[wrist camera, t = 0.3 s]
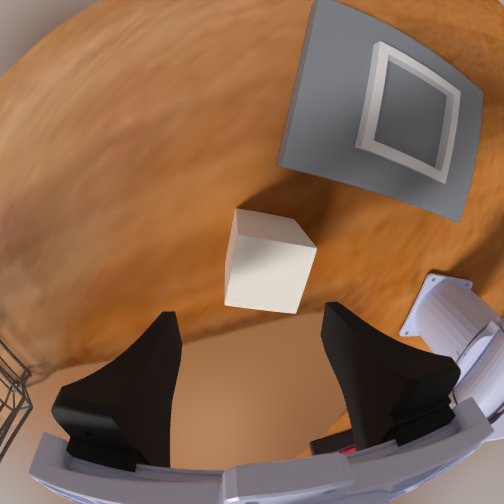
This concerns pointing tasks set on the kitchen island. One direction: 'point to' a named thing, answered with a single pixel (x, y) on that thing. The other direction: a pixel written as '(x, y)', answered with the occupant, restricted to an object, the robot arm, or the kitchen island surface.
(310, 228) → the kitchen island surface
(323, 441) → the dark product box
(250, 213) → the cream block
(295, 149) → the display plinth
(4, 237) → the kitchen island surface
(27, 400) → the geometric lantern
